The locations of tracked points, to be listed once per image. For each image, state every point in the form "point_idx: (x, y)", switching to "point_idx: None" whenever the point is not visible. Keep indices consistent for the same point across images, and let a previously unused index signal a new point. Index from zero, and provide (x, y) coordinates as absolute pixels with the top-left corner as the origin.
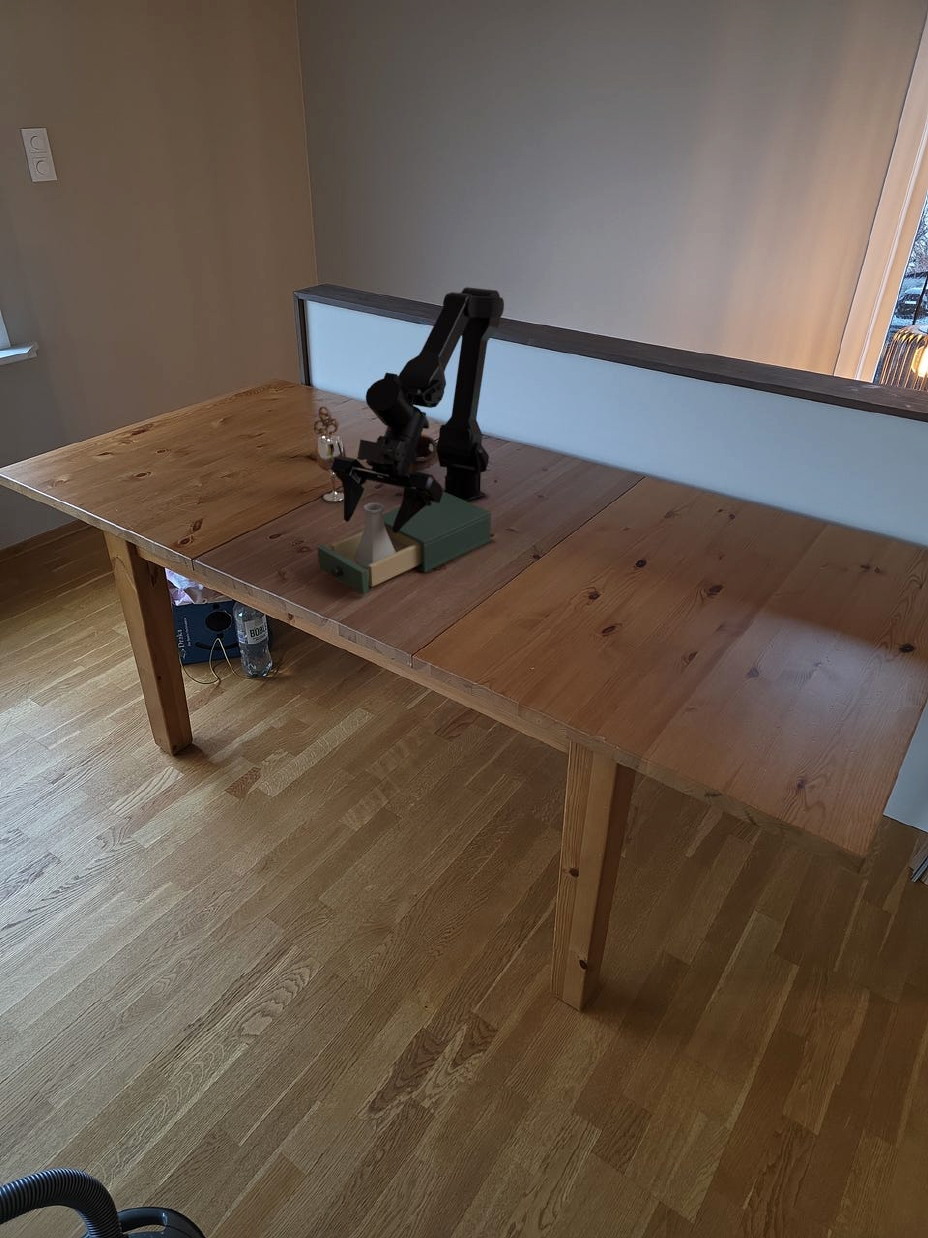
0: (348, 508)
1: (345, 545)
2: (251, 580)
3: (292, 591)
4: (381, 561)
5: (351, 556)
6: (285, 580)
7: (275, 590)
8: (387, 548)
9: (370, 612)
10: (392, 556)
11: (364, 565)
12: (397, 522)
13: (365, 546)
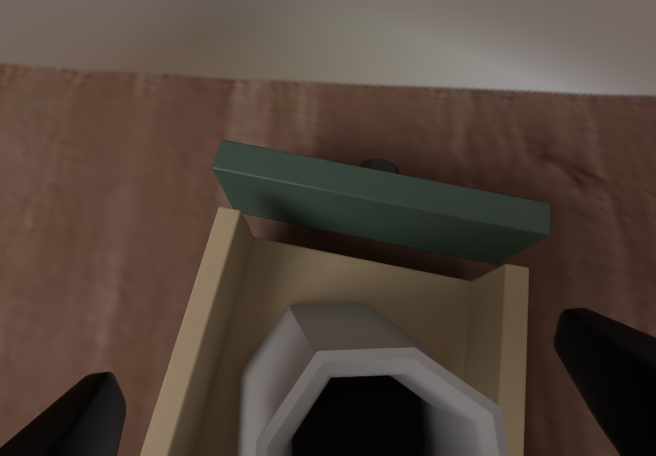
0: (646, 366)
1: (490, 337)
2: (611, 102)
3: (466, 119)
4: (200, 270)
5: (451, 358)
6: (537, 152)
7: (509, 98)
8: (254, 410)
9: (180, 152)
10: (176, 346)
11: (333, 304)
12: (23, 433)
13: (352, 326)
